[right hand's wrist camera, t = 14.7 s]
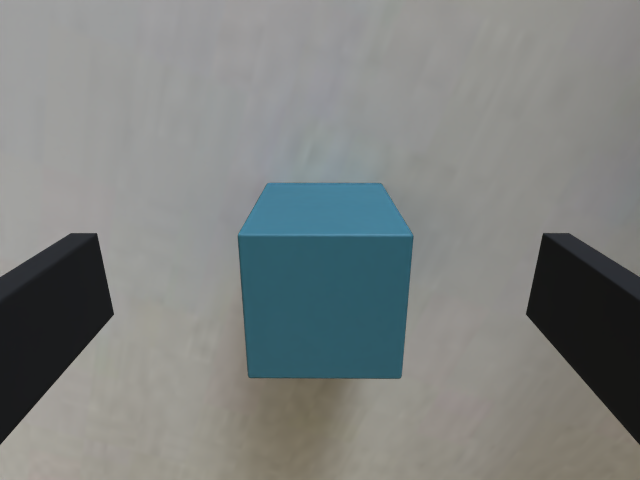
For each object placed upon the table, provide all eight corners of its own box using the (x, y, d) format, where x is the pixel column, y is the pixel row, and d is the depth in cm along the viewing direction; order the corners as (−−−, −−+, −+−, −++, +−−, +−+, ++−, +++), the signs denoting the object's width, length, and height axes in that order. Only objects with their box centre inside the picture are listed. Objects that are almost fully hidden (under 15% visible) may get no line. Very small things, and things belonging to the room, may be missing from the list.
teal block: (376, 286, 18) (402, 380, 12) (271, 286, 18) (247, 379, 12) (382, 182, 16) (414, 234, 10) (266, 182, 16) (236, 234, 10)
